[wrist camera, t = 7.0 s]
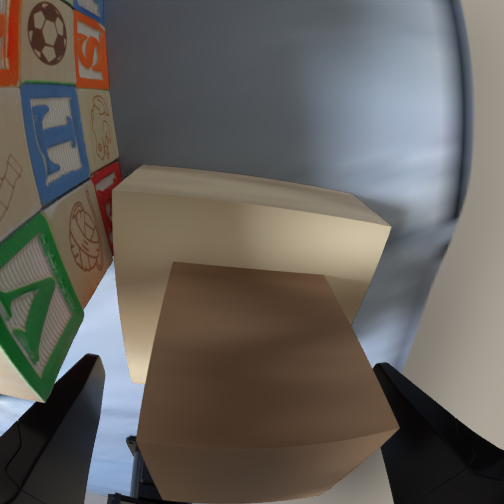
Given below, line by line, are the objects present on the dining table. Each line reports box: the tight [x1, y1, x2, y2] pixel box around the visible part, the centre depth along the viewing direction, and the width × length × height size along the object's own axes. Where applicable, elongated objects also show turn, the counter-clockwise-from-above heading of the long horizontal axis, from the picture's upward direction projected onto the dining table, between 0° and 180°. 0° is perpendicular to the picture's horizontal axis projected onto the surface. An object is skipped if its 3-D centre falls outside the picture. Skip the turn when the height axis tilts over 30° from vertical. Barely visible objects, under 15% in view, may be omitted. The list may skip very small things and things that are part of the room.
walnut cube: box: [136, 262, 400, 504], centre depth 8 cm, size 5×5×6 cm
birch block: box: [112, 165, 391, 385], centre depth 12 cm, size 9×9×4 cm
